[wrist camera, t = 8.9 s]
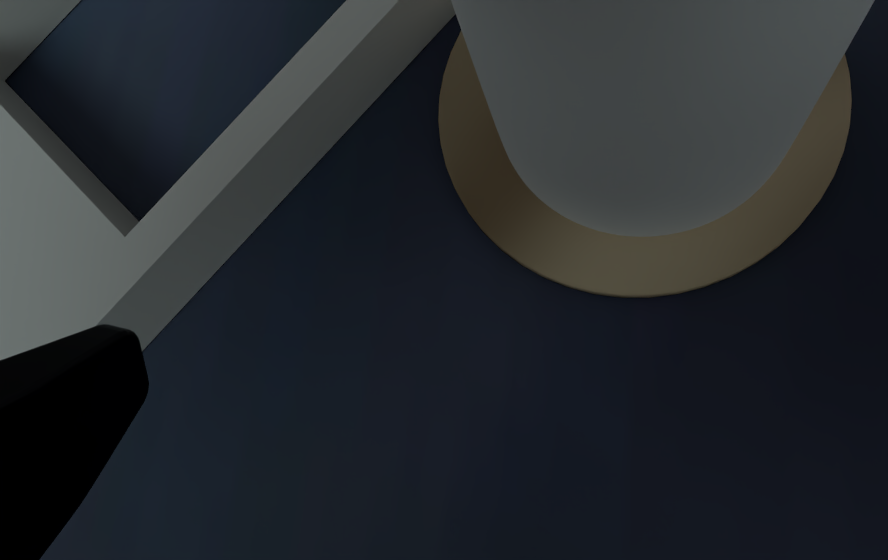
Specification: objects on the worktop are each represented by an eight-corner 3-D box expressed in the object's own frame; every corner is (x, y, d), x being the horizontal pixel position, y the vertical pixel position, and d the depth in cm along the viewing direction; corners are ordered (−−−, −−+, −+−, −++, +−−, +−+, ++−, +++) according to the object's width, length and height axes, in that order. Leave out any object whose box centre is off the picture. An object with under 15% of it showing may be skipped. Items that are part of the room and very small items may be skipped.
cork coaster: (938, 72, 17) (946, 63, 16) (656, 383, 17) (658, 382, 16) (613, -130, 20) (613, -142, 19) (367, 135, 19) (362, 128, 19)
